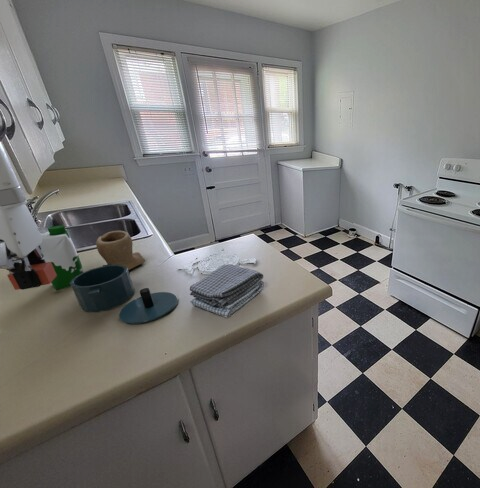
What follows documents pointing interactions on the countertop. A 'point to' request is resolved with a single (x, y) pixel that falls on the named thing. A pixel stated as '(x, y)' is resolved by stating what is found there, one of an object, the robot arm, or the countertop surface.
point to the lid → (148, 307)
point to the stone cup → (118, 249)
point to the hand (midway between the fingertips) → (36, 281)
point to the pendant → (218, 262)
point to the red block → (43, 272)
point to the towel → (226, 289)
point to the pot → (103, 288)
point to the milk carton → (61, 255)
